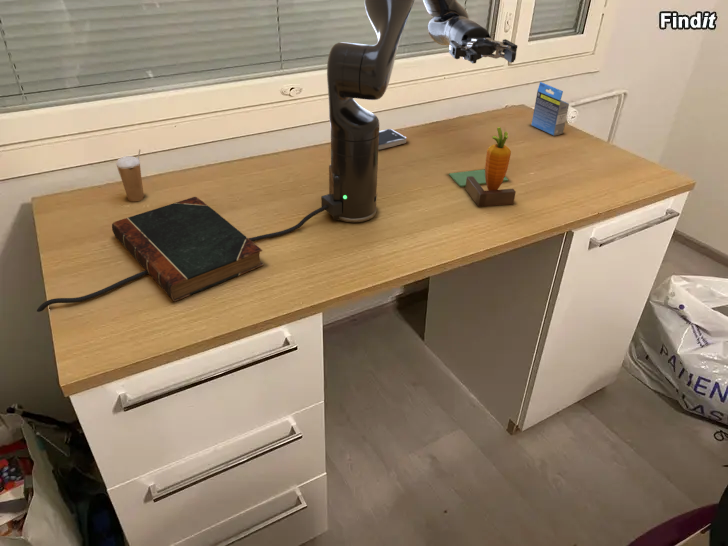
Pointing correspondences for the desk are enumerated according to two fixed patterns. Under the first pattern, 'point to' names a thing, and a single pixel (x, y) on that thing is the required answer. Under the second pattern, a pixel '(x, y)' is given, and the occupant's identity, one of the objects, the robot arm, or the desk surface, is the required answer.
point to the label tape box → (549, 110)
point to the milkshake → (131, 177)
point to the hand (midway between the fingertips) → (494, 58)
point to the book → (187, 247)
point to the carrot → (497, 161)
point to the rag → (462, 176)
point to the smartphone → (390, 139)
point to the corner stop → (488, 194)
